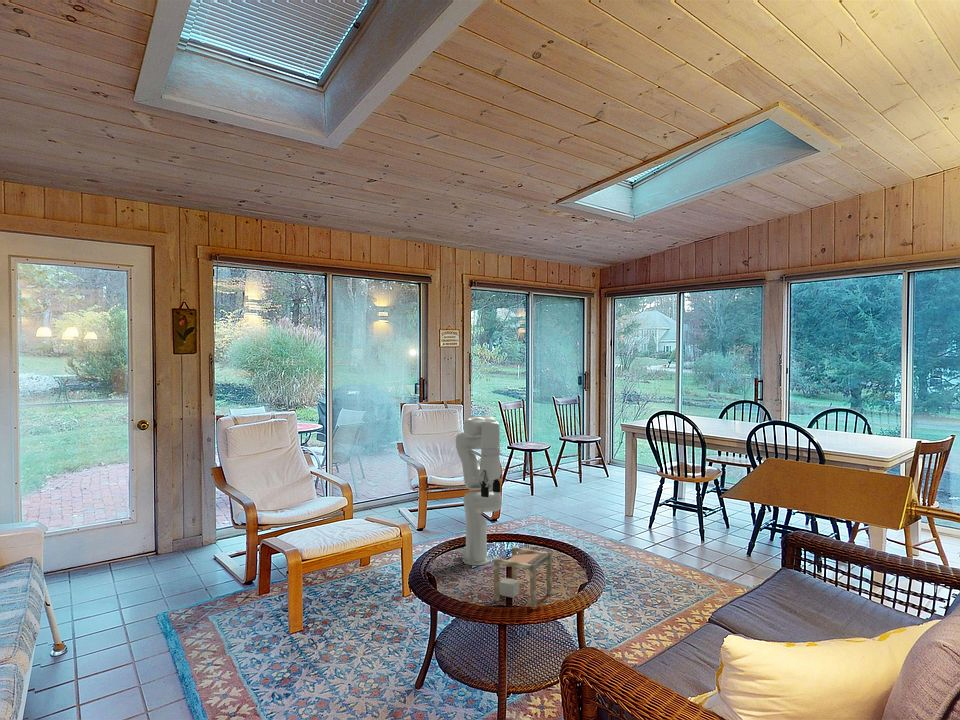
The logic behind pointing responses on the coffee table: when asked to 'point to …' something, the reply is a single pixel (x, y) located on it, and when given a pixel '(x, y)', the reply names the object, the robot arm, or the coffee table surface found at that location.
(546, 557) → the trapdoor frame
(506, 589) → the smooth gray block
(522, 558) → the trapdoor
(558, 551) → the coffee table surface
